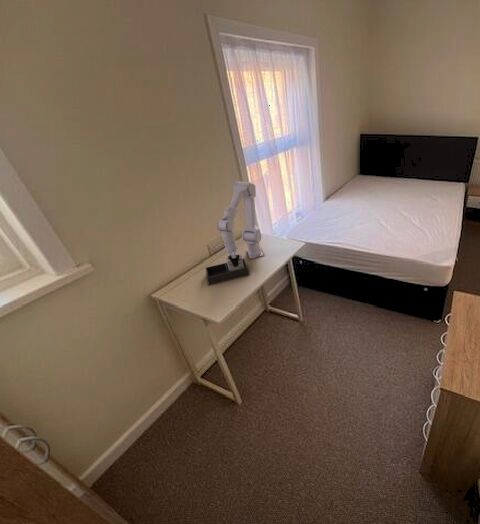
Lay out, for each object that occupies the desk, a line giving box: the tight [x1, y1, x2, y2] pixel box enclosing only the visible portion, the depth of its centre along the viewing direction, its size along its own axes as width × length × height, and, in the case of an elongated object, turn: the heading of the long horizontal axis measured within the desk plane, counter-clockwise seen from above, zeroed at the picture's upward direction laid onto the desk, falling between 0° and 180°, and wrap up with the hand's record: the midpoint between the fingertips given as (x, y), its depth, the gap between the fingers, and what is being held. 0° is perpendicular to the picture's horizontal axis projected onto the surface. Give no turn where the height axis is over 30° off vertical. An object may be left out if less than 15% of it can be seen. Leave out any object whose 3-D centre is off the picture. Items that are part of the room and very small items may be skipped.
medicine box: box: [225, 254, 244, 272], centre depth 154 cm, size 8×4×9 cm, turn 117°
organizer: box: [205, 258, 250, 286], centre depth 154 cm, size 11×21×5 cm, turn 115°
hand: (235, 262), depth 154 cm, fingers open, 7 cm apart
